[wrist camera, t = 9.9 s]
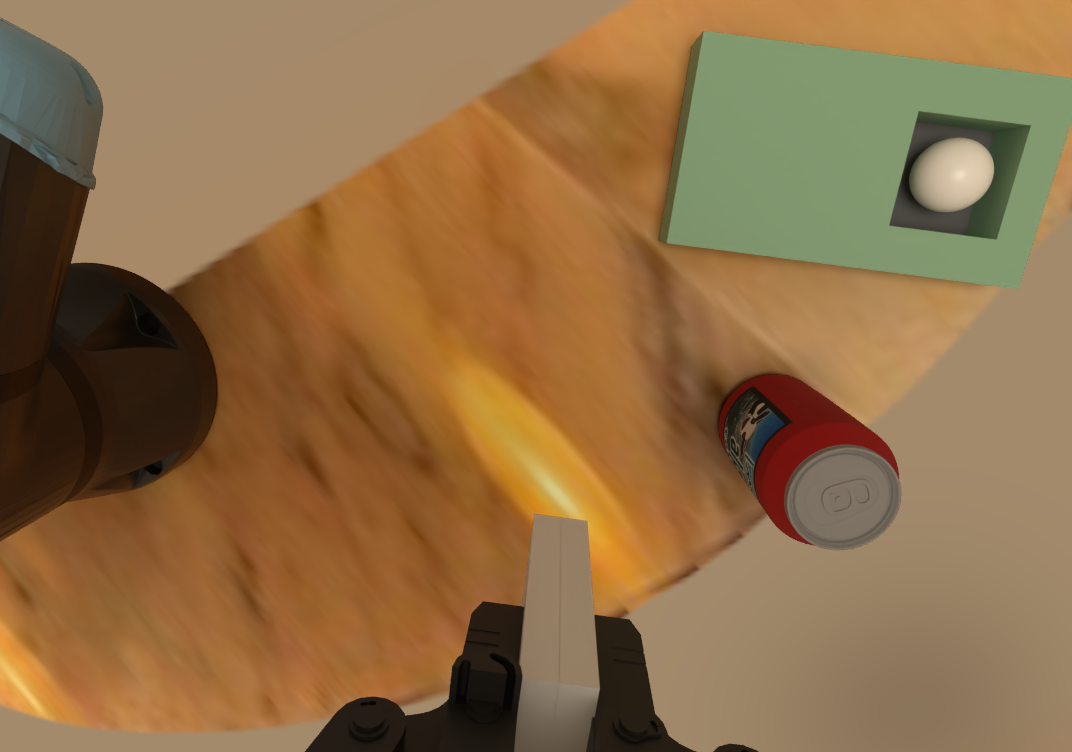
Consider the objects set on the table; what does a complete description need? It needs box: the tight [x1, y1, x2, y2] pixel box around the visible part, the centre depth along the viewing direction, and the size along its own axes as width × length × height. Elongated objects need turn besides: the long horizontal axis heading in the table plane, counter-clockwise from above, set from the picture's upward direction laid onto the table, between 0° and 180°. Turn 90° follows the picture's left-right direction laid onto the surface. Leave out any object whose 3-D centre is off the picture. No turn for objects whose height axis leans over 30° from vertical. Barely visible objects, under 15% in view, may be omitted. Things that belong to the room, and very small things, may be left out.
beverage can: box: [719, 374, 901, 550], centre depth 37 cm, size 7×7×12 cm
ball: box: [909, 137, 994, 212], centre depth 36 cm, size 4×4×4 cm
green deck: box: [659, 31, 1072, 289], centre depth 37 cm, size 20×11×3 cm, turn 83°
